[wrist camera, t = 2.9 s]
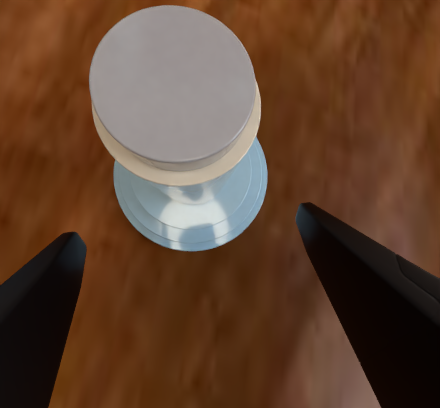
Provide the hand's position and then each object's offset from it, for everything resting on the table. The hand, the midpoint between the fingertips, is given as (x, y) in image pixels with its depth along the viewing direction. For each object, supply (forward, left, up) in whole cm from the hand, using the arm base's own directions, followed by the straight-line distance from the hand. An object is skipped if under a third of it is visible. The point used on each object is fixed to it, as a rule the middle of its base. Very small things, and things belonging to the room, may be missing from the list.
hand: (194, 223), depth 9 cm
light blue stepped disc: (+4, -2, -12) cm, 12 cm away
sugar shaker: (+4, -2, -9) cm, 10 cm away
